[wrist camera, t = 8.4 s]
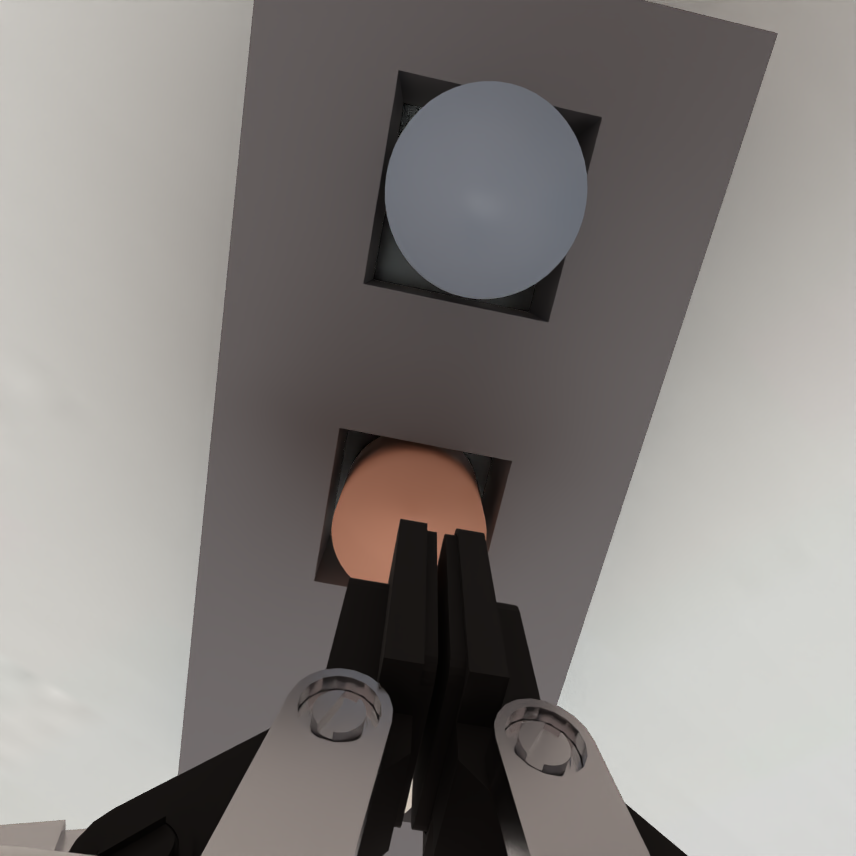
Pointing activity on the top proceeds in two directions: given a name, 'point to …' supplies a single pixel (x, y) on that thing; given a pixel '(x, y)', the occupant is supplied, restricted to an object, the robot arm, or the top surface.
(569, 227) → the slate blue button
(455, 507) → the terracotta button
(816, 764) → the top surface
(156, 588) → the top surface
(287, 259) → the button panel
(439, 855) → the robot arm
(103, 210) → the top surface
